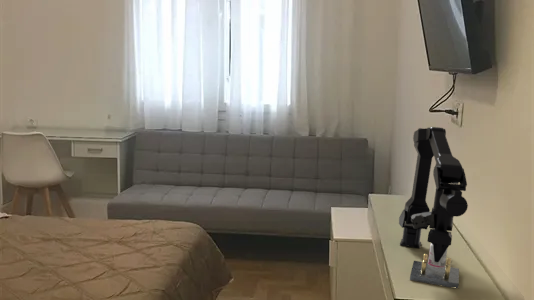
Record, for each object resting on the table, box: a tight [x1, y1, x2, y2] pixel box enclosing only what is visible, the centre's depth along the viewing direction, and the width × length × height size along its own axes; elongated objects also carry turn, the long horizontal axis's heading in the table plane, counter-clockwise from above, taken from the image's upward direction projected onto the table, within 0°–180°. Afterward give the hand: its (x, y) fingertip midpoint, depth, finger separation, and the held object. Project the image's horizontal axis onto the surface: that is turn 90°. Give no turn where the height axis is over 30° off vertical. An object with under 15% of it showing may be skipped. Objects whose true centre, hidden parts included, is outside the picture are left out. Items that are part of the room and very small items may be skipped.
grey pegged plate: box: [409, 253, 460, 289], centre depth 170 cm, size 13×13×5 cm
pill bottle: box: [427, 242, 448, 269], centre depth 169 cm, size 5×5×8 cm
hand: (436, 259), depth 170 cm, fingers closed on pill bottle, 5 cm apart
